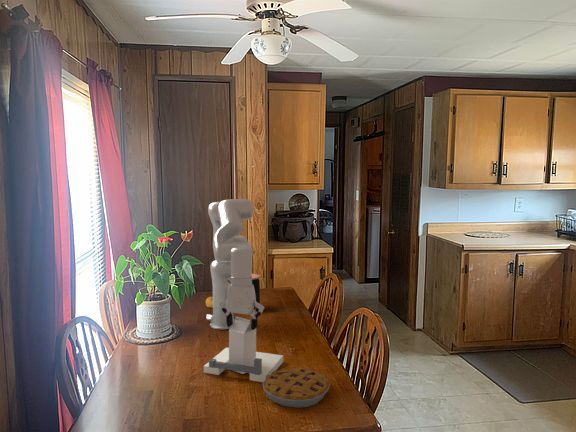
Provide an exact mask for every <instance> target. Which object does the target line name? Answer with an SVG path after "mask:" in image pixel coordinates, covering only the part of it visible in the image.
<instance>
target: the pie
mask: <svg viewBox="0 0 576 432" xmlns="http://www.w3.org/2000/svg"><path fill="white" fill-rule="evenodd" d="M330 386H331V383H330V380H329V379H328V378H327V376H326V375H325V374H323V373H320V372H319V371H317V370H316V369H313V370H310V369H309V368H308V367H303V368H298V367H293V366H292V367H290V368H286V367H283V368H280V370H278V371H277V370H276V371H273V372H272V373H271V375H268V376H267V377H266V380H265V381H264V382H262V387H263V388H262V389H263V391H264V392H265V393H266V395H267V397H268V399H270V401H272V402H273V403H276V404H278V405H281V406H285V407H290V408H309V407H312V406H314V405H316V404H318V403H319V402H321V401H322V399H324V397H325V396H326V393H328V392H329V389H330Z"/></svg>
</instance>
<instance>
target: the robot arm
mask: <svg viewBox="0 0 576 432" xmlns="http://www.w3.org/2000/svg"><path fill="white" fill-rule="evenodd" d="M207 212H208V216H209V219H210V222H211V224H212V229H213V230H212V232H213V233H212V234H213V235H212V236H213V238H212V249H213V256H214V260H213V261H211V262H210V267H209V268H210V276H211V283H212V297H213V308H212V314H208V313H207V314H206V315H205V316H206V318H205V320H206V321H210V323H209V326H210V329H211V328H212V329H215V330H229V329H230V327H231V326H232V324H233V322H234V321H235V318H234V315H235V314H240V315H241V314H242V315H250V317H251V319H250V323H251V329H252V330H254V329H255V328H256V329H257V327H258V318H259V317H260V316H261V315H262V314H263V311H265V306H263V305H262V304H261V303H260V304H259V303H258V302H256V296H255V289H254V285H253V284H252V274H253V262H252V261H253V259H252V258H253V255H254V252H253V247H252V245H251V244H250V243H249V242H248V239H247V237H246V236H245V235H239V234H241V232H242V231H243V227H244V226H243V225H244V224H243V221H247V220H251V219H252V217H253V216H254V206H253V204H252V201H250V200H249V199H248V198H238V199H237V198H236V199H235V198H233V199H231V198H230V199H224V200H222V201H213V202H211V203H210V204H209V205H208V209H207ZM256 307H257V308H258V309H259V310H258V311H255V310H256Z"/></svg>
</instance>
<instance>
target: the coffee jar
mask: <svg viewBox="0 0 576 432" xmlns="http://www.w3.org/2000/svg"><path fill="white" fill-rule="evenodd" d="M260 281H261V280H260V275H259V274H257V273H252V284H253V285H254V289H255V296H256V302H258V303H259V304H261V295H260V294H261V291H260V290H261V286H260V285H261V282H260ZM255 311H256V312H258V311H259V309H258V308H257V307H256V310H255Z"/></svg>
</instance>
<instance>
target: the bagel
mask: <svg viewBox="0 0 576 432" xmlns="http://www.w3.org/2000/svg"><path fill="white" fill-rule="evenodd" d="M205 306H206V307H207V308H208V309H213V296H208V297H207V298H206V299H205Z"/></svg>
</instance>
